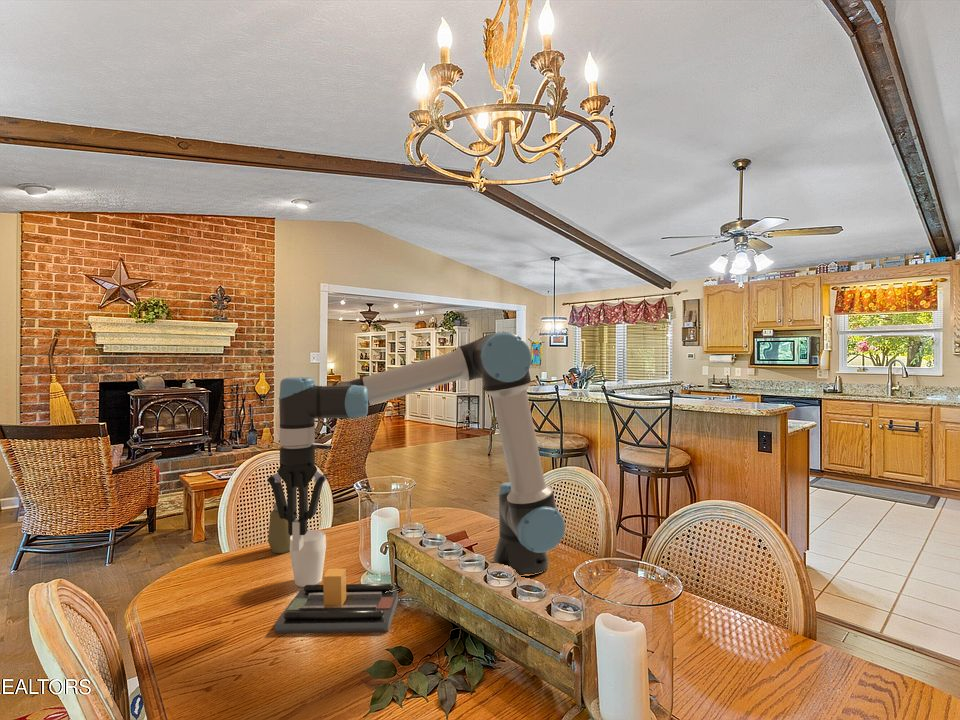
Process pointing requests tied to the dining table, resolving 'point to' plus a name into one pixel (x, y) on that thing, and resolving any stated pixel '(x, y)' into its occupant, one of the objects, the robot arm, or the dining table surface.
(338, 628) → the panel
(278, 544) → the squeeze bottle
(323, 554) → the cup
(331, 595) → the amber wood post
